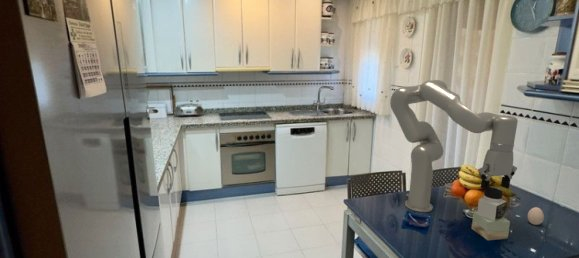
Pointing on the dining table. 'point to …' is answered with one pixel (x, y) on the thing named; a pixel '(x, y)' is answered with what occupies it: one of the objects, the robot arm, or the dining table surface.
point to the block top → (491, 223)
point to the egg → (535, 216)
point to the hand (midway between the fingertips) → (494, 188)
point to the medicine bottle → (492, 204)
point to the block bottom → (489, 232)
